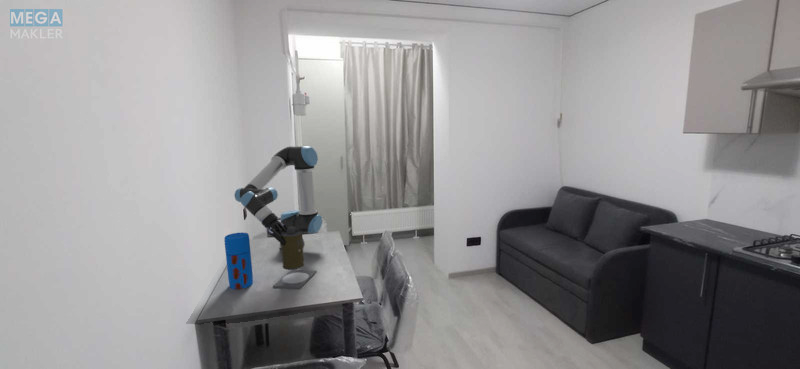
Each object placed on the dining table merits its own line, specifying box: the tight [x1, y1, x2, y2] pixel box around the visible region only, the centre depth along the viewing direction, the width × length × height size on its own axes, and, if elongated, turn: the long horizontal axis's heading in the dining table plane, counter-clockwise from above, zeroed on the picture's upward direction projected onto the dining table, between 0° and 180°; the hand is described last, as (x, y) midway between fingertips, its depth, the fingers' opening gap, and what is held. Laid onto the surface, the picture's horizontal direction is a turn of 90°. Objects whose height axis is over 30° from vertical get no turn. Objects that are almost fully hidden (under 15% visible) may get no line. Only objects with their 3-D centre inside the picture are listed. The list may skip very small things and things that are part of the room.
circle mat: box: [272, 269, 317, 290], centre depth 178 cm, size 20×14×1 cm
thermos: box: [224, 232, 254, 290], centre depth 171 cm, size 11×11×25 cm
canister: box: [281, 227, 305, 271], centre depth 175 cm, size 11×10×20 cm
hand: (300, 250), depth 174 cm, fingers open, 3 cm apart
